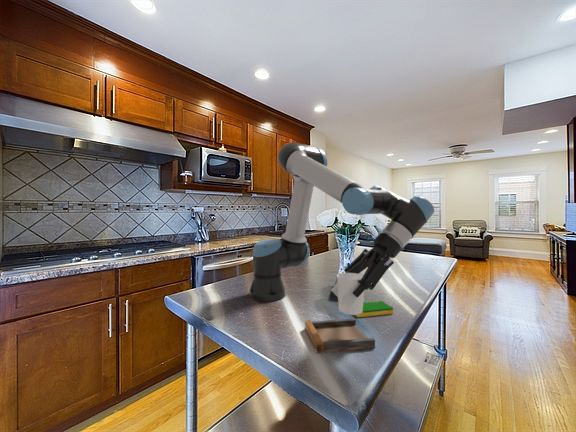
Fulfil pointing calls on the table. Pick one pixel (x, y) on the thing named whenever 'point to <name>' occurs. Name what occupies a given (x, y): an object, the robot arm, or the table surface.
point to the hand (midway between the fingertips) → (339, 298)
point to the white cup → (343, 287)
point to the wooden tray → (337, 335)
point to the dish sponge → (375, 309)
